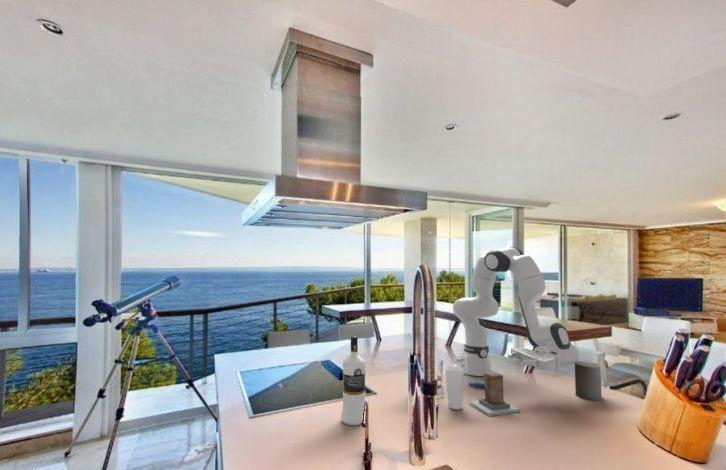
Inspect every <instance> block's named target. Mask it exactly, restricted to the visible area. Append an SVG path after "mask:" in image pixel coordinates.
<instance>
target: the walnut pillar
mask: <svg viewBox="0 0 726 470" xmlns="http://www.w3.org/2000/svg"><path fill="white" fill-rule="evenodd" d="M483 378H484V379H483V380H484V398H485V401H486V402H487V403H489V404H491V405H500V404H504V401H505V399H504V398H505V397H504V396H505V394H504V375H503V374H501V373H499V372H496V371H493V372H487V373H484V376H483Z"/></svg>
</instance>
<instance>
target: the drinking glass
mask: <svg viewBox="0 0 726 470" xmlns="http://www.w3.org/2000/svg"><path fill="white" fill-rule="evenodd" d="M464 375H465V374H464V373H463V369H462V368H460V367H454V366H453V365H452V366H448V367H446V369H445V377H446V378H445V380H446V389H447V390H446V391H447V399H448V403H447V404H448V408H449V409H451V410H456V411H459V410H461V409H463V401H464V400H463V397H464V380H465V377H464Z"/></svg>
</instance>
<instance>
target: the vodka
mask: <svg viewBox="0 0 726 470" xmlns="http://www.w3.org/2000/svg"><path fill="white" fill-rule="evenodd" d="M358 338H359V336H357V335H352V336H350V354H349V355H348V356H347V357H346V358H344V360H343V362H342V376H343V377H342V379H343V381H342V383H343V384H342V385H343V386H342V387H343V389H342V390H343V391H342V412H341V414H340V415H341V417H340V419H341V422H342V423H344V424H345V425H347V426H352V427H353V426H354V427H355V426H360V425H361V426H362V424H361V423H362V415H363V408H364V403H365V404H366V360H365V358H363V357H362V356H361V355H359V354H358V353H359V352H358V351H359V350H358V346H359V345H358V340H359V339H358Z"/></svg>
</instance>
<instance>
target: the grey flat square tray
mask: <svg viewBox="0 0 726 470" xmlns="http://www.w3.org/2000/svg"><path fill="white" fill-rule="evenodd" d="M469 404H470V406H472V407H474V408H475V409H477V410H479V411H480V412H481V413H483V414H484V415H486V416H488V417H492V416H499V415H506V414H514V413H520V412H521V409H520V408H519V407H517V406H515V405H513V404H511V403H510V402H508V401H506V400H504V404H500V405H491V404H489V403H487V402H486V401H485V397H483V398H478V400H475V401H474V400H472V401H470V402H469Z"/></svg>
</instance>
